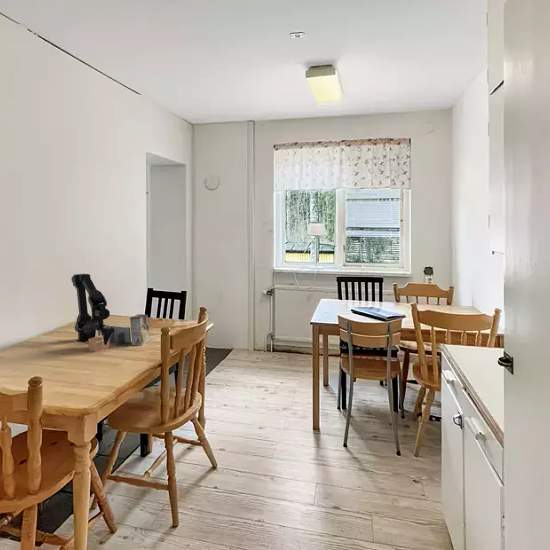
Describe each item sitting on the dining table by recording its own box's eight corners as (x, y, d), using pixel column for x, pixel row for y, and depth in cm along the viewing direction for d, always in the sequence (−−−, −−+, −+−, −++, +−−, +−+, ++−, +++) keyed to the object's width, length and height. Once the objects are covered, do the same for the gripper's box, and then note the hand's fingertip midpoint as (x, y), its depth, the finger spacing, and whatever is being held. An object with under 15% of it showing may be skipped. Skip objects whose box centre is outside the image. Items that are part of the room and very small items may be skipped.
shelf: (98, 342, 241) (96, 327, 240) (106, 339, 247) (105, 324, 246) (122, 345, 233) (121, 330, 232) (131, 342, 239) (130, 327, 238)
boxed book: (89, 350, 225) (88, 338, 225) (103, 345, 234) (102, 334, 234) (95, 351, 224) (94, 339, 223) (109, 346, 233) (108, 335, 232)
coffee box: (139, 340, 243) (138, 314, 241) (149, 341, 242) (148, 314, 240) (131, 345, 234) (129, 317, 232) (141, 345, 233) (140, 317, 231)
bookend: (116, 344, 236) (115, 334, 235) (123, 342, 240) (122, 332, 239) (122, 345, 234) (122, 335, 233) (129, 343, 238) (128, 333, 237)
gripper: (72, 318, 223) (74, 346, 225) (98, 321, 216) (100, 350, 218) (89, 314, 233) (91, 340, 235) (114, 316, 226) (116, 344, 228)
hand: (99, 344), depth 229 cm, fingers open, 9 cm apart
